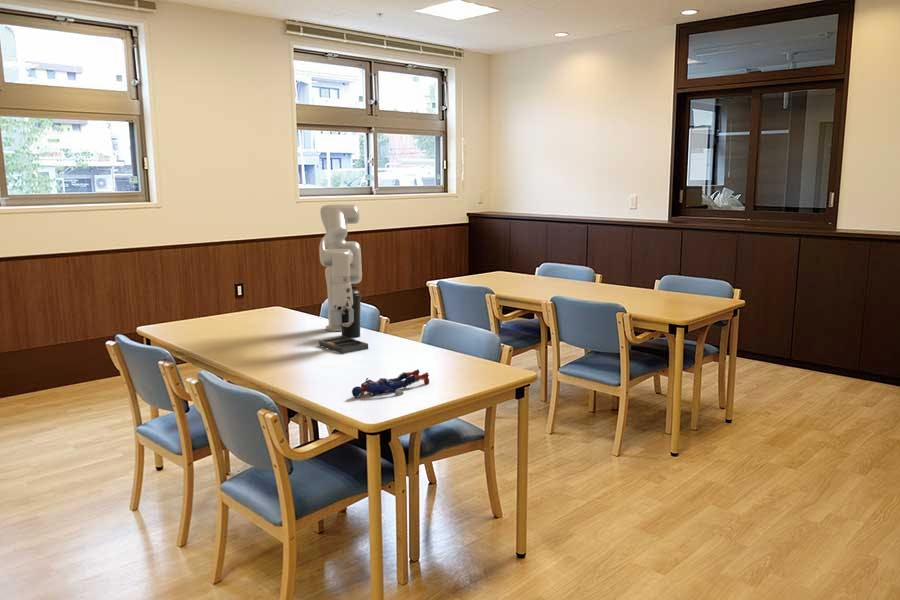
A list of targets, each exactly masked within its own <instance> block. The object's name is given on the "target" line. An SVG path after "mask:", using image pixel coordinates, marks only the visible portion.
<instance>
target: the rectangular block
mask: <svg viewBox="0 0 900 600" xmlns="http://www.w3.org/2000/svg"><path fill="white" fill-rule="evenodd" d="M342 314H343V313H342V309H339V310H332V311H330V316H331V324H335V325H336V324H342ZM349 322H354V309H351V310H350V311H349Z"/></svg>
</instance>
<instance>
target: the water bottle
mask: <svg viewBox="0 0 900 600" xmlns="http://www.w3.org/2000/svg"><path fill="white" fill-rule="evenodd" d="M351 287H352V293H353V306H352V309H354V322H348V323H342V324H341V330H342V331H341V337H342V336H345V337H348V338H351V339H355V338H356V339H357V338H359V337H361V300H362V294H361V292H360V291H359V290H358V286H353V285H351ZM344 309H346V308H344Z"/></svg>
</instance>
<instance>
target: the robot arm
mask: <svg viewBox="0 0 900 600" xmlns="http://www.w3.org/2000/svg"><path fill="white" fill-rule="evenodd" d="M319 213H320V214H319V215H320V218H321V219H320V220H321V222H322V225H323V227H324V230H325V234H324V236H323V237H322V239H320V243H319V248H318V249H319V250H318V253H319V261H320V264H321V265H322V266H323V267H326V268H325V269H324V270H325V271H324V276H325V282H326V289H327V312H328V313H327V314H328V315H327V316H328V325H326V326H325V330H326V331H329V332H342V330H341V324H336V325H335V324H331V316H330V311H332V310H339V309H342V313H343V314H342V323H348V322H349V311H350V310H351V309H352V306H353V293H352V287H351V286H352V284H354V285H355V284H360V283H361V281H362V278H363V271H362V270H363V269H362V267H363V266H362V250H361V249H362V248H361V245H360V243H358V241H353V240H352V241H346V240H345V239H346V237H347V236H348V226H347V225H349V224H350V225H351V224H352V225H353V224H358V223H359V221H360V210H359V208H358V206H357V205H356V204H339V203H337V204H335V203H334V204H325V205H323V206H321V208H320V210H319ZM344 308H346V309H344Z"/></svg>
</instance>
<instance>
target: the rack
mask: <svg viewBox="0 0 900 600" xmlns="http://www.w3.org/2000/svg"><path fill="white" fill-rule="evenodd" d="M319 345H320V346H319ZM318 346H319V347H321V346H323V347H322V348H324V347H325V348H324V349H327V348H328V349H327V350H329V351H333V352H336V353H338V352H339V354H341V353H342V355H344V354H349V352H350V353H353V352H360V351H365V350H368V349H369V343H367V342H365V341H360V340H358V339H355V338H348V337H345V336H342V335H341V336H337V337H331V338H326V339H321V340H318Z"/></svg>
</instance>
